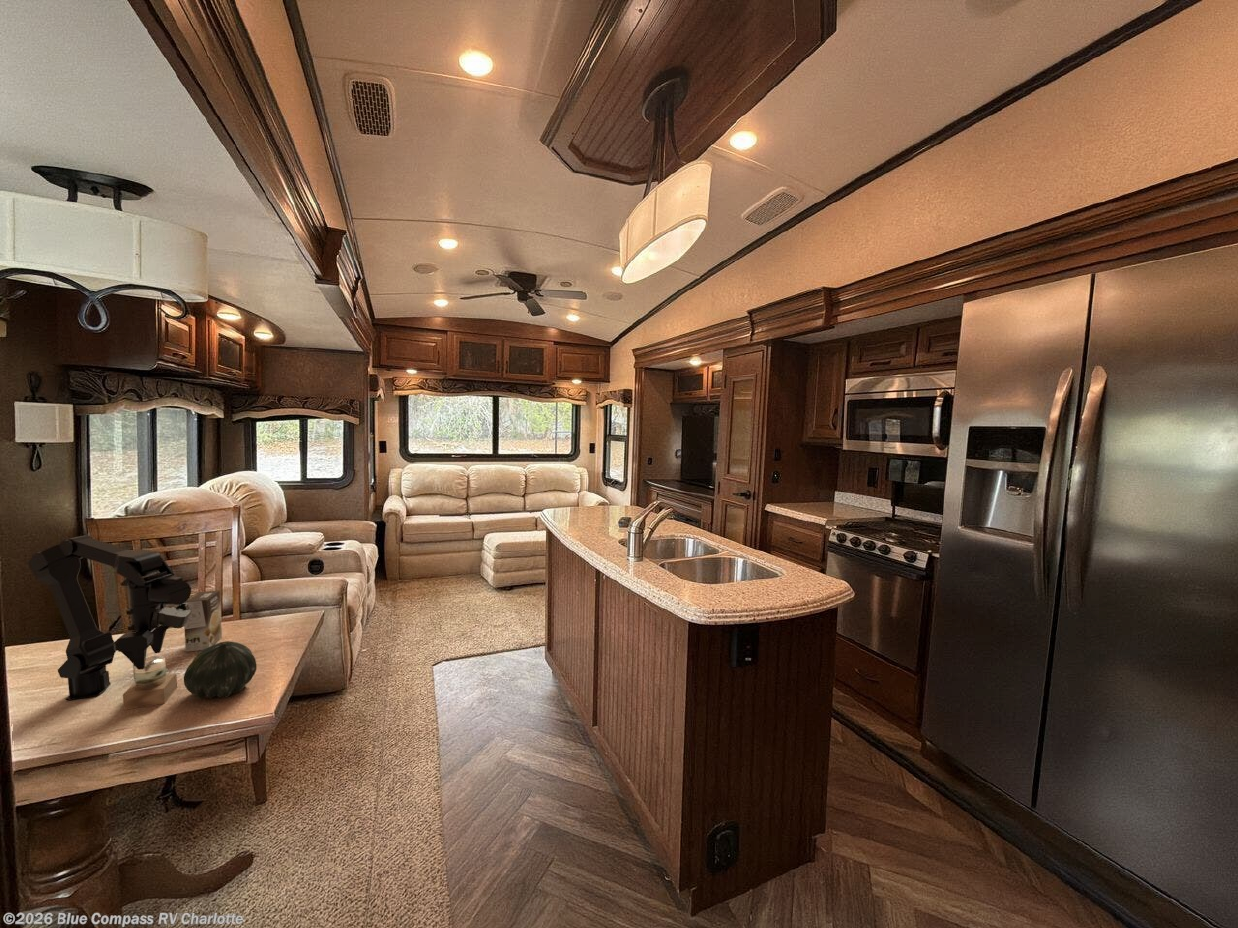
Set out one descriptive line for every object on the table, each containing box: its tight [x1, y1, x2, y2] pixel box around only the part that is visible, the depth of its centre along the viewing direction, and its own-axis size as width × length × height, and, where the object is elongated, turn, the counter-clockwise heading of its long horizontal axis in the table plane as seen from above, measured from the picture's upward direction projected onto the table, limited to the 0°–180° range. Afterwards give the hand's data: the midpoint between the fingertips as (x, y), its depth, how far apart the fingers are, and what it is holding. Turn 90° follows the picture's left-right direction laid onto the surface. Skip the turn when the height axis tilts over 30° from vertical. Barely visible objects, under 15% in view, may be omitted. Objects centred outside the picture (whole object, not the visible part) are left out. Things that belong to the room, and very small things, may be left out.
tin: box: [132, 655, 167, 690], centre depth 130 cm, size 6×6×6 cm
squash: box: [183, 640, 258, 699], centre depth 134 cm, size 14×15×15 cm
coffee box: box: [183, 590, 223, 652], centre depth 160 cm, size 9×6×16 cm
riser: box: [122, 673, 178, 711], centre depth 131 cm, size 8×8×4 cm
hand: (149, 660), depth 130 cm, fingers open, 9 cm apart
